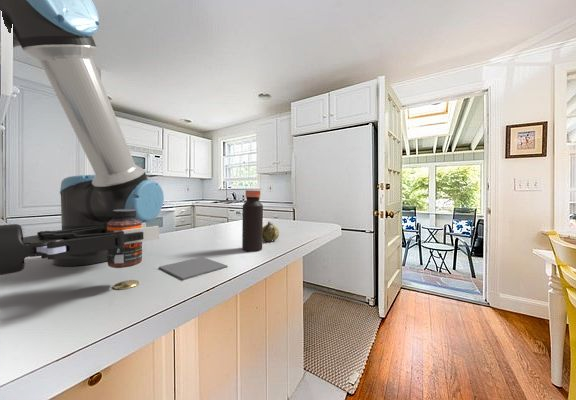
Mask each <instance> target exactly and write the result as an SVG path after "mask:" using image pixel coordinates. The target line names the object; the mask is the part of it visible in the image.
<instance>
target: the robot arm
mask: <svg viewBox="0 0 576 400" xmlns="http://www.w3.org/2000/svg"><path fill="white" fill-rule="evenodd" d="M0 10H1V11H2V17H3V20H4V24H5V26H6V27H7V29H8V32H9V33H11V28H12V24H13V48H16V47H20V46H21V48H22V49H21V50H22V51H23V52H25V53H26V54H28V55H30V56H31V57H33V58H35V59H36V60H37V61H38V62H39V63H40V65H41V66H42V68H43V71H44V73H45V76H47V78H48V81H49V82H50V85H51V87H52V89H53V90H54V93H55V95H56V97H57V99H58V102H59V103H60V106H61V107H62V108H63V111H64V114H65V115H66V118H67V120H68V121H69V123H70V125H71V127H72V129H73V132H74V133H75V135H76V138H77V139H78V141H79V143H80V145H81V148H82V150H83V151H84V153H85V156H86V158H87V159H88V161H89V164H90V166H91V168H92V169H93V170H92V171H94V174H82V175H81V174H80V175H71V176H67V177H65V178H63V179H62V180H61V182H60V191H59V195H60V213H61V217H60V218H61V219H60V221H61V229H59V230H40V231H37V232H36V233H37V234H36V235H29V236H24V234H23V233H24V232H23V228H22V226H21V225H20V224H17V223H12V224H0V276H3V275H9V274H10V275H11V274H14V273H20V272H21V271H23V270H24V269H25V259H26V258H33V257H36V258H37V257H41V259H47V260H52V263H53V265H56V266H61V267H62V266H63V267H74V266H75V267H76V266H86V265H93V264H98V263H104V262H108V261H107V250H110V249H116V248H120V249H124V244H131V243H137V242H142V243H143V242H149V241H155V240H160V226H159V225H155V226H147V224H148V223H150V222H153V221H154V220H155V219H156V218H157V217H158V216H159V215H160V212H161V211H162V207H163V206H164V199H165V198H164V196H165V195H164V191H163V188H162V186H161V184H159V183H158V182H156V181H155V180H151V179H148V176H147V174H146V171H145V169H144V168H143V167H140V166H139V165H137V164H136V163H135V160H134V159H133V156H132V154H131V151H130V148H129V146H128V143H127V141H126V139H125V137H124V134H123V131H122V129H121V127H120V124H119V121H118V118H117V117H116V113H115V111H114V109H113V106H112V103H111V101H110V100H109V96H108V94H107V92H106V89H105V86H104V84H103V81H102V79H101V77H100V73H99V71H98V69H97V67H96V64H95V62H94V56H95V55H96V52H97V51H98V48H97V45H96V42H95V40H94V37H93V36H94V35H95V34H96V33H97V31H98V29H99V27H98V26H99V25H100V18H99V13H98V10H97V7H96V6H95V3H94V2H93V0H0ZM13 48H12V49H13ZM118 209H135V210H136V217H137V218H138V220H140V221H141V223H142V228H136V229H127V230H122V231H119V232H111V233H107V224H108V222H109V221H111V220H112V219H113V210H118Z"/></svg>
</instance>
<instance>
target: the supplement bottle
mask: <svg viewBox="0 0 576 400" xmlns="http://www.w3.org/2000/svg"><path fill="white" fill-rule="evenodd" d="M136 228H142V223H141V221H140V220H138V218H137V217H136V210H135V209H118V210H113V219H112V220H111V221H109V222H108V224H107V233H111V232H119V231H122V230H127V229H136ZM142 261H143V242H137V243H131V244H124V249H120V248H116V249H110V250H107V261H106V262H107V266H108V267H110V268H114V269H124V268H129V267H134V266H137V265H139V264H140V263H142Z"/></svg>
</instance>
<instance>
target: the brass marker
mask: <svg viewBox="0 0 576 400" xmlns="http://www.w3.org/2000/svg"><path fill="white" fill-rule="evenodd" d="M139 284H140V282H139V280H135V279H134V280H133V279H130V280H129V279H128V280H124V281H120V282H118V283H115V284H114V285H113V288H112V289H114V290H119V291H120V290H128V289H132V288H135V287H136V286H137V287H138V285H139Z"/></svg>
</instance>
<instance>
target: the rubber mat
mask: <svg viewBox="0 0 576 400" xmlns="http://www.w3.org/2000/svg"><path fill="white" fill-rule="evenodd" d="M158 268H159V270H162V271H164V272H166V273H168V274H170V275H171V276H174V277H176V278H178V279H180V280H182V281H185V280H189V279H192V278H195V277H199V276H201V275H206V274H209V273H212V272H216V271H219V270H222V269H223V270H224V269H225V268H226V269H227V268H228V264H224V263H221V262H218V261H215V260H212V259H209V258H207V257H204V256H201V257H195V258H192V259H187V260H182V261H178V262H174V263H170V264H165V265H160V266H158Z"/></svg>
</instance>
